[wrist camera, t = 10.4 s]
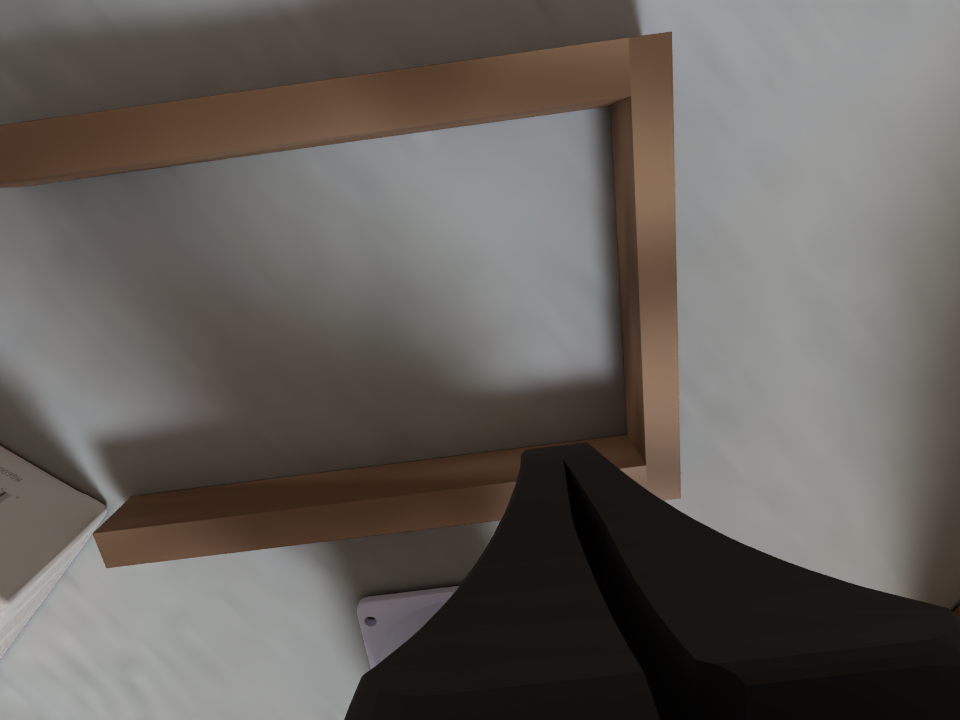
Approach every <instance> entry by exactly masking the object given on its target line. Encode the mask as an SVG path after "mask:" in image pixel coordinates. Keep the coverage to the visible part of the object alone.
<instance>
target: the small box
mask: <svg viewBox="0 0 960 720" xmlns="http://www.w3.org/2000/svg"><path fill="white" fill-rule="evenodd" d="M106 513H107V507H106V506H105V505H104V504H102V503H100V502H99V501H97V500H95V499H93V498H92V497H90V496H88V495H86V494H83V493H81V492H79V491H77V490H75V489H73V488H72V487H70V486H68V485H67V484H65V483H63V482H62V481H60V480H58V479H56V478H55V477H53V476H51V475H50V474H48V473H46V472H45V471H43V470H41V469H39V468H38V467H36V466H34V465H33V464H31V463H29V462H27V461H26V460H24V459H22V458H20V457H19V456H17V455H15V454H14V453H12V452H10V451H8V450H7V449H5V448H3V447H2V446H0V658H1V657H2V656H3V654H4V653H5V652H6V650H7V649H8V648H9V646H10V645H11V644H12V642H13V641H14V639H15V638H16V637H17V635H18V634H19V633H20V631H21V630H22V628H23V627H24V626H25V624H26V623H27V622H28V620H29V619H30V618H31V616H32V615H33V614H34V612H35V611H36V610H37V608H38V607H39V606H40V605H41V603H42V602H43V601H44V599H45V598H46V596H47V595H48V594H49V592H50V591H51V589H52V588H53V586H54V585H55V584H56V582H57V581H58V580H59V578H60V577H61V575H62V574H63V573H64V571H65V570H66V569H67V567H68V566H69V565H70V563H71V562H72V561H73V559H74V558H75V557H76V555H77V554H78V553H79V551H80V550H81V548H82V547H83V546H84V544H85V543H86V542H87V540H88V539H89V537H90V536H91V535H92V533H93V532H94V530H95V529H96V528H97V526H98V525H99V523H100V522H101V521H102V519H103V518H104V517H105V515H106Z"/></svg>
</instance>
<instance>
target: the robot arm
mask: <svg viewBox="0 0 960 720" xmlns="http://www.w3.org/2000/svg"><path fill="white" fill-rule="evenodd" d="M357 615H358V620H359V624H360V628H361V632H362V636H363V640H364V644H365V648H366V652H367V657H368V661H369V665H370V669H371V670H370V671H368V672H367V673H366V674H364V675H363V676H362V678H361V680H360V682H359V684H358V687H357V689H356V691H355V694H354V696H353V699H352V701H351V704H350V706H349V709H348V711H347V714H346V717H345V719H344V720H960V618H959V617H957V616H956V615H955V614H954V613H953V612H951V611H950V610H949V609H948V608H945V607H941V606H937V605H933V604H929V603H925V602H921V601H917V600H913V599H909V598H905V597H901V596H897V595H893V594H889V593H885V592H881V591H877V590H873V589H869V588H865V587H862V586H858V585H855V584H851V583H848V582H845V581H842V580H839V579H836V578H833V577H830V576H826V575H823V574H820V573H817V572H814V571H811V570H808V569H805V568H802V567H800V566H797V565H794V564H791V563H789V562H786V561H783V560H781V559H778V558H776V557H773V556H771V555H768V554H766V553H764V552H761V551H759V550H756V549H754V548H752V547H749V546H747V545H744V544H742V543H740V542H738V541H736V540H733V539H731V538H729V537H727V536H725V535H723V534H721V533H719V532H717V531H715V530H713V529H711V528H710V527H708V526H706V525H704V524H702V523H700V522H698V521H696V520H694V519H692V518H691V517H689V516H687V515H685V514H684V513H682V512H680V511H679V510H677V509H676V508H674V507H672V506H671V505H669V504H668V503H666V502H665V501H663V500H661V499H660V498H658V497H657V496H655V495H654V494H652V493H651V492H650V491H648V490H647V489H645V488H644V487H642V486H641V485H640V484H638V483H637V482H636V481H634V480H633V479H632V478H630V477H629V476H628V475H626V474H625V473H624V472H623V471H621V470H620V469H619V468H618V467H617V466H615V465H614V464H613V463H612V462H610V461H609V460H608V459H607V458H606V457H604V456H603V455H602V454H601V453H600V452H599V451H597V450H596V449H595V448H594V447H592V446H591V445H590V444H589V443H587V442H584V443H576V444H568V445H559V446H551V447H543V448H535V449H527V450H525V451H524V452H523V453H522V454H521V464H520V470H519V474H518V478H517V481H516V485H515V487H514V490H513V493H512V495H511V498H510V501H509V504H508V506H507V508H506V511H505V513H504V515H503V517H502V519H501V521H500V523H499V525H498V527H497V529H496V531H495V533H494V535H493V537H492V539H491V540H490V542H489V544H488V546H487V547H486V549H485V551H484V552H483V554H482V555H481V557H480V558H479V560H478V561H477V563H476V564H475V566H474V567H473V569H472V570H471V571H470V573H469V574H468V575H467V577H466V578H465V579H464V581H463V582H462V583H461V585H460V586H453V587H445V588H437V589H428V590H420V591H411V592H403V593H395V594H386V595H378V596H370V597H365V598H363V599H361V600H360V601H359V603H358V606H357ZM369 616H370V617H374V618H375V619H373V620H372V619H369V618H367V617H369Z"/></svg>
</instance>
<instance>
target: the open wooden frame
mask: <svg viewBox="0 0 960 720" xmlns="http://www.w3.org/2000/svg"><path fill="white" fill-rule="evenodd" d="M607 106H610V107H611V126H612V146H613V165H614V185H615V204H616V224H617V243H618V263H619V282H620V302H621V321H622V341H623V360H624V380H625V399H626V419H627V435H621V436H613V437H604V438H596V439H588V440H580V441H572V442H564V443H556V444H548V445H540V446H532V447H524V448H516V449H508V450H500V451H492V452H484V453H476V454H468V455H460V456H452V457H444V458H435V459H427V460H419V461H411V462H403V463H395V464H387V465H379V466H371V467H363V468H355V469H347V470H339V471H331V472H323V473H315V474H307V475H299V476H291V477H283V478H274V479H266V480H258V481H250V482H242V483H234V484H226V485H218V486H210V487H202V488H194V489H186V490H178V491H170V492H162V493H154V494H146V495H138V496H131V497H130V498H129V499H128V500H127V501H126V502H125V503H124V504H123V505H122V506H121V507H120V508H119V509H118V510H117V511H116V512H115V513H114V514H113V515H112V516H111V517H110V518H108V519H107V520H106V521H105V522H104V523H103V524H102V525H101V526H100V527H99V528H98V529H97V530H96V531H95V532H94V533H93V536H94V538H95V541H96V543H97V546H98V548H99V551H100V553H101V556H102V558H103V561H104V563H105V566H106V568H111V567H120V566H128V565H136V564H144V563H152V562H161V561H169V560H177V559H185V558H194V557H202V556H210V555H218V554H227V553H235V552H243V551H251V550H259V549H268V548H276V547H284V546H292V545H301V544H309V543H317V542H325V541H333V540H342V539H350V538H358V537H366V536H375V535H383V534H391V533H399V532H407V531H416V530H424V529H432V528H440V527H449V526H457V525H465V524H473V523H482V522H490V521H498V520H501V519H502V517H503V515H504V513H505V511H506V508H507V506H508V504H509V501H510V498H511V495H512V493H513V490H514V487H515V485H516V481H517V478H518V474H519V470H520V464H521V454H522V453H523V452H524V451H525V450H527V449H535V448H543V447H551V446H559V445H568V444H576V443H584V442H587V443H589V444H590V445H591V446H592V447H594V448H595V449H596V450H597V451H599V452H600V453H601V454H602V455H603V456H604V457H606V458H607V459H608V460H609V461H610V462H612V463H613V464H614V465H615V466H617V467H618V468H619V469H620V470H621V471H623V472H624V473H625V474H626V475H628V476H629V477H630V478H632V479H633V480H634V481H636V482H637V483H638V484H640V485H641V486H642V487H644V488H645V489H647V490H648V491H650V492H651V493H652V494H654V495H655V496H657V497H658V498H660V499H661V500H671V499H679V498H681V480H680V428H679V376H678V325H677V273H676V221H675V170H674V118H673V66H672V32H666V33H658V34H651V35H644V36H637V37H630V38H623V39H615V40H608V41H601V42H594V43H587V44H579V45H572V46H565V47H558V48H551V49H544V50H536V51H529V52H522V53H515V54H508V55H501V56H493V57H486V58H479V59H472V60H465V61H458V62H450V63H443V64H436V65H429V66H422V67H415V68H407V69H400V70H393V71H386V72H379V73H372V74H364V75H357V76H350V77H343V78H336V79H328V80H321V81H314V82H307V83H300V84H293V85H285V86H278V87H271V88H264V89H257V90H250V91H242V92H235V93H228V94H221V95H214V96H207V97H199V98H192V99H185V100H178V101H171V102H164V103H156V104H149V105H142V106H135V107H128V108H121V109H113V110H106V111H99V112H92V113H85V114H77V115H70V116H63V117H56V118H49V119H42V120H34V121H27V122H20V123H13V124H6V125H0V188H6V187H23V186H30V185H37V184H45V183H52V182H59V181H67V180H74V179H81V178H89V177H96V176H103V175H110V174H118V173H125V172H132V171H140V170H147V169H154V168H162V167H169V166H176V165H183V164H191V163H198V162H205V161H213V160H220V159H227V158H235V157H242V156H249V155H257V154H264V153H271V152H278V151H286V150H293V149H300V148H308V147H315V146H322V145H330V144H337V143H344V142H351V141H359V140H366V139H373V138H381V137H388V136H395V135H403V134H410V133H417V132H425V131H432V130H439V129H446V128H454V127H461V126H468V125H476V124H483V123H490V122H498V121H505V120H512V119H519V118H527V117H534V116H541V115H549V114H556V113H563V112H571V111H578V110H585V109H593V108H600V107H607Z"/></svg>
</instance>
